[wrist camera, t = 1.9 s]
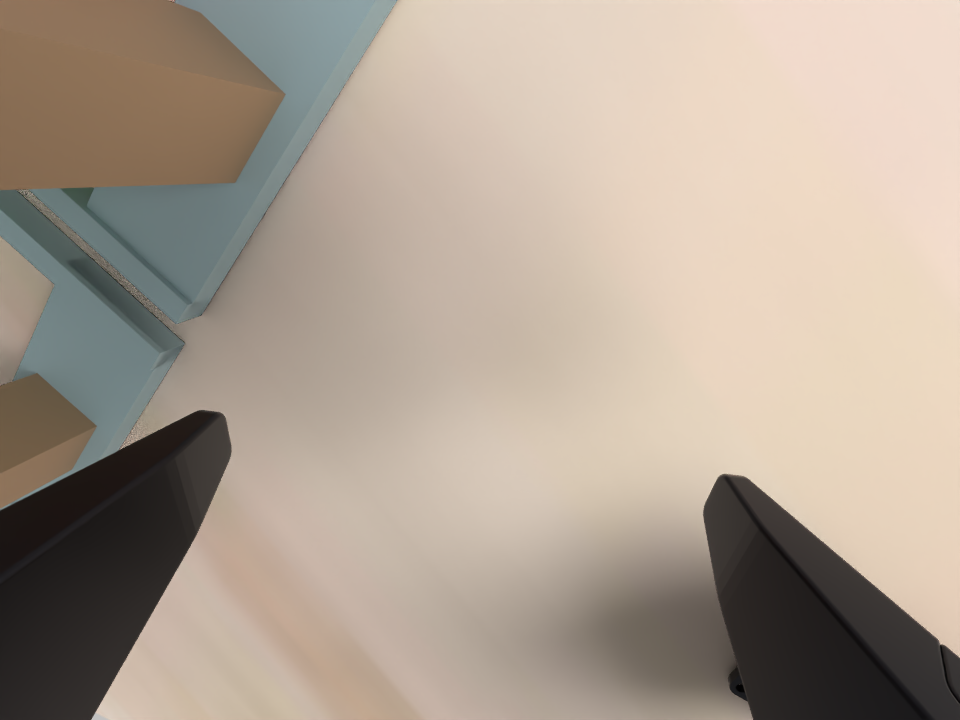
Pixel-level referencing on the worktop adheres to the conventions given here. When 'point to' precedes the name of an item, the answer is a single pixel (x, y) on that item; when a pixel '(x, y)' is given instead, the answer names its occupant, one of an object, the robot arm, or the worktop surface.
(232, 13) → the cube lane
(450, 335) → the worktop surface
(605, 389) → the worktop surface
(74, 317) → the tray with brown post
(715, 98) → the worktop surface
